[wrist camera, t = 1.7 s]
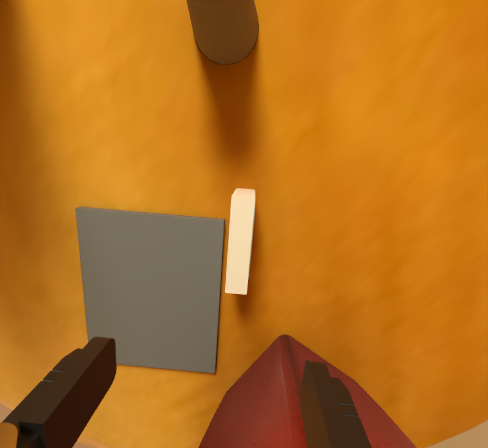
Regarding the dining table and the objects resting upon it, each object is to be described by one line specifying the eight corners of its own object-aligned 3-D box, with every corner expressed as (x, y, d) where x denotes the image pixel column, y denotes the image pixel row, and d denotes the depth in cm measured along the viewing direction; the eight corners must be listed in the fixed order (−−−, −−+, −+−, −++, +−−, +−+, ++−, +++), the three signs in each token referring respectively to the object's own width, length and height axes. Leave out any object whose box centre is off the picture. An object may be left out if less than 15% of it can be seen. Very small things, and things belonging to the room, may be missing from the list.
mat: (80, 206, 28) (75, 208, 28) (224, 219, 28) (223, 221, 27) (93, 356, 34) (90, 361, 33) (215, 368, 33) (214, 373, 33)
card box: (236, 187, 27) (231, 196, 21) (255, 189, 27) (256, 199, 21) (230, 265, 30) (225, 292, 24) (248, 267, 30) (247, 294, 24)
